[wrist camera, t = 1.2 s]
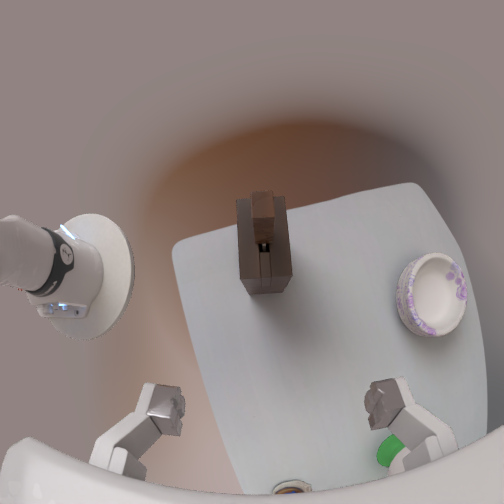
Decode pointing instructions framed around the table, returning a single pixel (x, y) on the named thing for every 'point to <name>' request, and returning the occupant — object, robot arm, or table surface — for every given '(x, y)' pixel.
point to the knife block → (263, 263)
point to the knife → (263, 217)
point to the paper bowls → (431, 295)
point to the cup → (392, 455)
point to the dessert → (292, 487)
